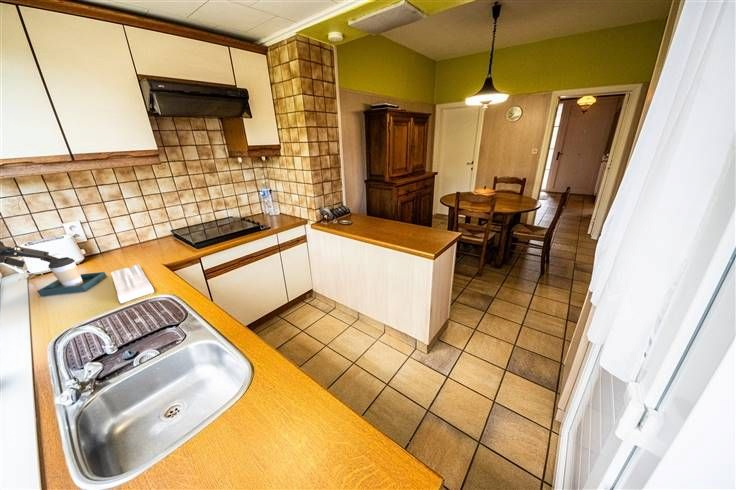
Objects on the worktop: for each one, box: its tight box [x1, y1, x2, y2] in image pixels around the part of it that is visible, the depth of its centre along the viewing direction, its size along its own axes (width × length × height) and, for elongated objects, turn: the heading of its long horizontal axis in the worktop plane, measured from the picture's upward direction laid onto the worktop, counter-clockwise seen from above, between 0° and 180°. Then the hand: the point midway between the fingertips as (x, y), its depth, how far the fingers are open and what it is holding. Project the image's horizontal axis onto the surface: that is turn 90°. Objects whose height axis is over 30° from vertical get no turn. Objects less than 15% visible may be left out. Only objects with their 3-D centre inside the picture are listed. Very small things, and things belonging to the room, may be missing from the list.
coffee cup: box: [47, 256, 83, 288], centre depth 133 cm, size 9×9×15 cm
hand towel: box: [110, 263, 155, 304], centre depth 134 cm, size 12×4×40 cm
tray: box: [36, 271, 108, 298], centre depth 136 cm, size 20×15×3 cm
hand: (40, 262), depth 121 cm, fingers open, 13 cm apart
